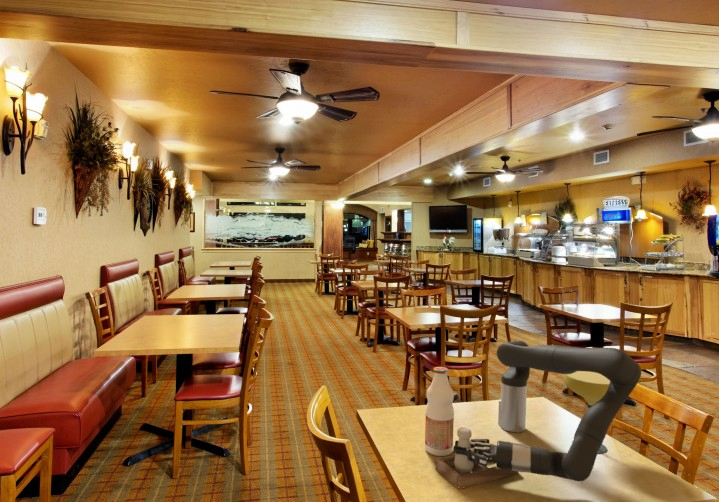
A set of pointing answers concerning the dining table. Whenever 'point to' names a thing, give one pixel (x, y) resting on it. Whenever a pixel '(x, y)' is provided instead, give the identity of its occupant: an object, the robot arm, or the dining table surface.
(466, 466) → the salt shaker
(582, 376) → the cocktail glass
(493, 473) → the caddy
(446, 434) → the fruit juice
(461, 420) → the dining table surface
